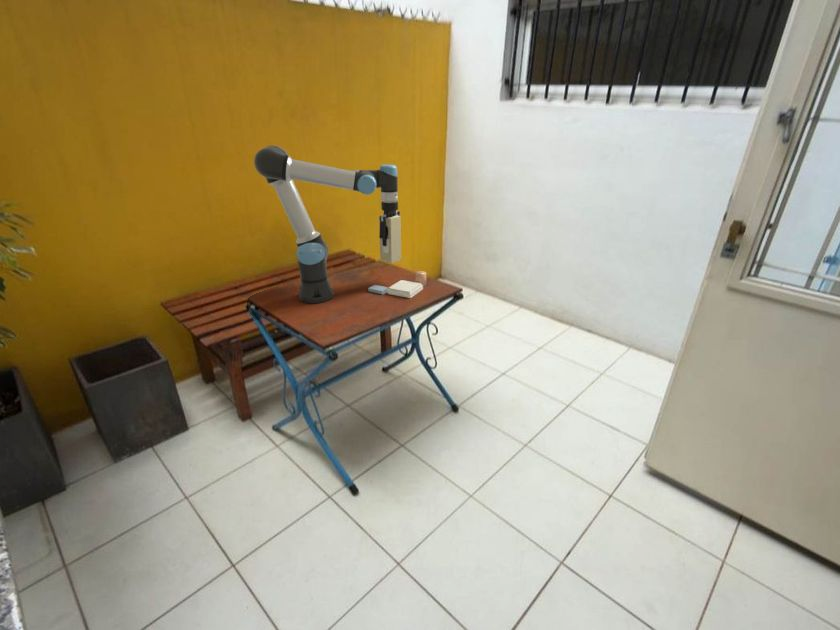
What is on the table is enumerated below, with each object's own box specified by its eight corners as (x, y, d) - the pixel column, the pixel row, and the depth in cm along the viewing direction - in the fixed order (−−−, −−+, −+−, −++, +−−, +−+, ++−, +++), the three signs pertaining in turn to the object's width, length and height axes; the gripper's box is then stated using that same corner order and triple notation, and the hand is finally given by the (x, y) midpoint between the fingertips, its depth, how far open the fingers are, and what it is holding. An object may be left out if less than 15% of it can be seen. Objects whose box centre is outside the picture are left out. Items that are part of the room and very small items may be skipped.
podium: (387, 293, 196) (387, 288, 195) (400, 284, 206) (400, 279, 205) (410, 298, 191) (410, 292, 190) (423, 289, 201) (423, 283, 199)
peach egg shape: (413, 285, 205) (413, 273, 202) (419, 282, 209) (418, 270, 206) (423, 287, 203) (423, 275, 200) (428, 283, 207) (428, 271, 204)
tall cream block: (402, 259, 206) (401, 215, 197) (391, 263, 201) (390, 218, 192) (391, 256, 211) (389, 213, 202) (380, 259, 206) (378, 215, 197)
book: (368, 292, 200) (368, 288, 199) (375, 288, 204) (374, 284, 203) (382, 295, 196) (382, 291, 195) (388, 291, 200) (388, 287, 199)
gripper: (384, 205, 184) (385, 257, 194) (408, 198, 201) (408, 245, 211) (369, 204, 187) (371, 254, 197) (394, 196, 204) (395, 243, 214)
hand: (390, 249), depth 204 cm, fingers closed on tall cream block, 8 cm apart
